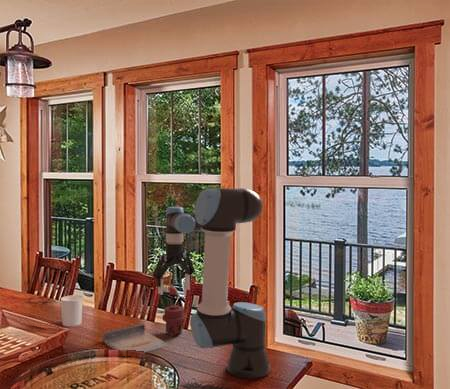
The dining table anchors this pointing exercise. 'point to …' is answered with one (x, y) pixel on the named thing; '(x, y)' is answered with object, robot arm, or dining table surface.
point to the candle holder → (71, 310)
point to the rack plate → (132, 339)
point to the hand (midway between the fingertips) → (174, 291)
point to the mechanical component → (174, 319)
